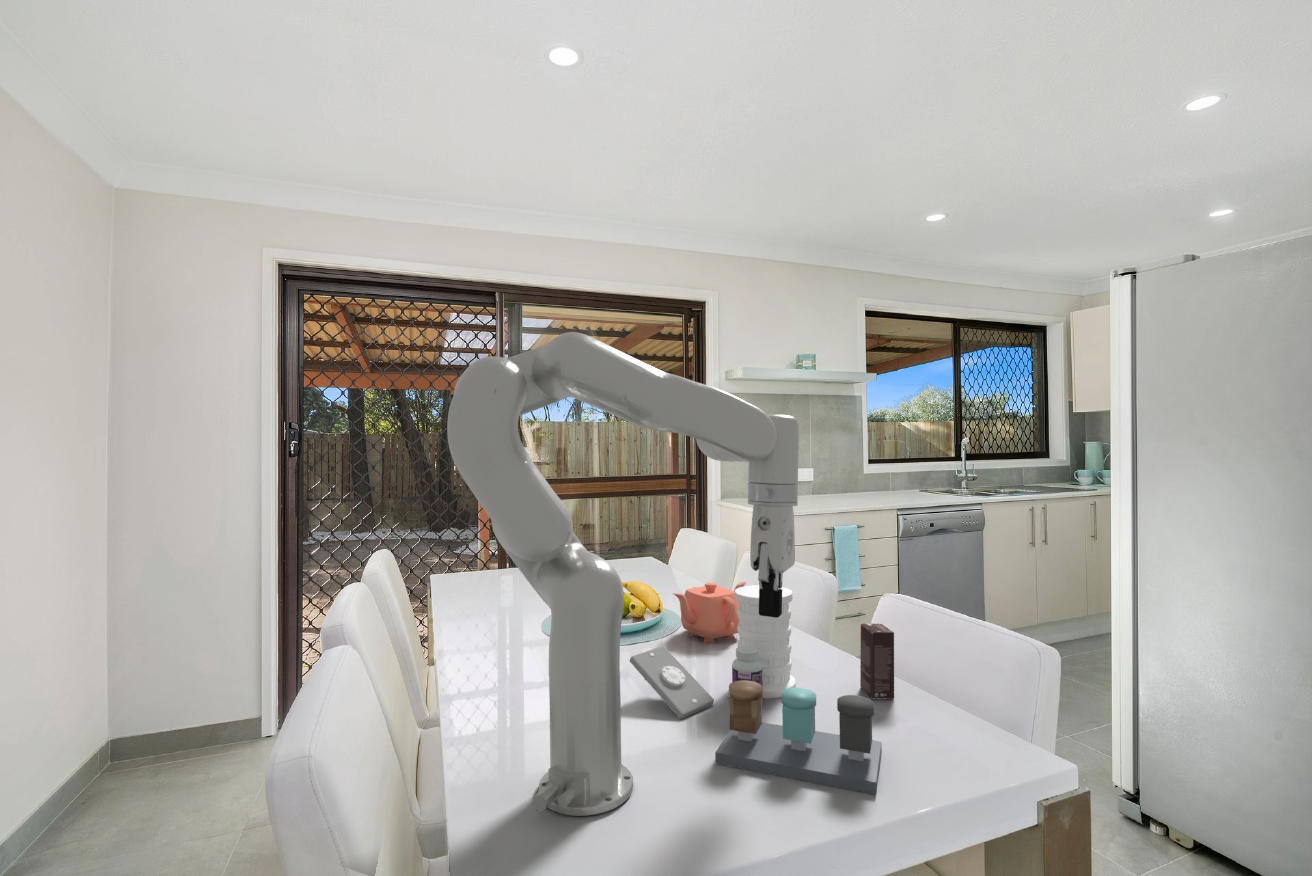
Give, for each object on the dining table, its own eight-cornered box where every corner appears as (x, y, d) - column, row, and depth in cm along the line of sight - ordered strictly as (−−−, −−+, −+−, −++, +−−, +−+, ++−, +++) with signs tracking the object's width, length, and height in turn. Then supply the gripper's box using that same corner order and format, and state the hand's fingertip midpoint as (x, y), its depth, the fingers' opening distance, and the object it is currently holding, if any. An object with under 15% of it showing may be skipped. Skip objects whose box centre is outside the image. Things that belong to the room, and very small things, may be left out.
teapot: (673, 644, 145) (672, 589, 145) (688, 624, 161) (688, 574, 161) (737, 649, 141) (736, 593, 141) (747, 628, 156) (746, 577, 157)
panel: (876, 794, 82) (875, 745, 82) (715, 763, 90) (714, 719, 91) (881, 752, 93) (880, 709, 93) (737, 728, 102) (737, 688, 102)
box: (896, 699, 112) (895, 632, 112) (871, 700, 112) (870, 632, 112) (883, 686, 118) (881, 622, 118) (859, 687, 118) (858, 623, 118)
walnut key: (758, 736, 92) (757, 695, 92) (725, 730, 94) (724, 690, 94) (766, 722, 96) (765, 682, 96) (734, 716, 98) (734, 678, 98)
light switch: (684, 711, 104) (632, 652, 114) (672, 736, 106) (622, 677, 116) (717, 696, 111) (664, 641, 120) (705, 720, 112) (654, 664, 122)
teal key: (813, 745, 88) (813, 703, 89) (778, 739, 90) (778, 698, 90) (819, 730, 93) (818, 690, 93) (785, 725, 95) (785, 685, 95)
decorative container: (754, 702, 111) (752, 601, 112) (723, 680, 122) (722, 588, 122) (808, 692, 116) (806, 594, 116) (774, 671, 127) (772, 582, 127)
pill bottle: (738, 711, 108) (737, 655, 108) (728, 699, 113) (727, 645, 113) (767, 708, 109) (766, 652, 109) (756, 696, 114) (755, 643, 114)
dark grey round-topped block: (873, 755, 85) (872, 711, 85) (835, 749, 87) (835, 706, 87) (876, 739, 90) (875, 698, 90) (840, 734, 92) (839, 693, 92)
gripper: (786, 499, 88) (783, 630, 87) (806, 494, 101) (804, 608, 101) (734, 496, 91) (731, 623, 90) (761, 491, 104) (758, 602, 104)
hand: (770, 615), depth 96 cm, fingers closed
